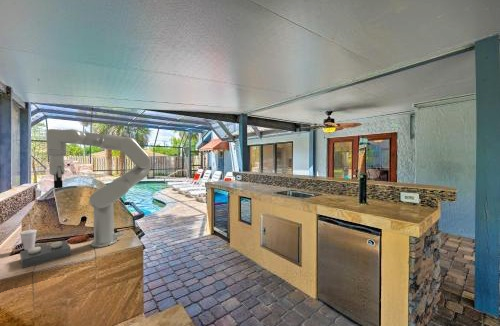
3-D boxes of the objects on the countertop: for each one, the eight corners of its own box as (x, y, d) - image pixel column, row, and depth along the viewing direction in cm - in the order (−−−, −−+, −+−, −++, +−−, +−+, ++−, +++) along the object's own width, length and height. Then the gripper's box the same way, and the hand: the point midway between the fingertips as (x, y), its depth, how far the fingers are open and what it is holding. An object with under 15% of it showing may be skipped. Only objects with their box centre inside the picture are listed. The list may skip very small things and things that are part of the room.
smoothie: (27, 252, 114) (25, 226, 113) (17, 251, 115) (16, 225, 114) (41, 247, 120) (39, 222, 119) (31, 246, 121) (30, 221, 120)
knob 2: (61, 249, 115) (61, 240, 115) (63, 252, 112) (62, 243, 112) (50, 252, 112) (49, 243, 112) (51, 255, 109) (51, 246, 109)
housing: (65, 247, 120) (65, 240, 119) (70, 254, 112) (70, 247, 111) (20, 259, 107) (20, 251, 106) (22, 268, 99) (22, 259, 99)
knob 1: (40, 254, 109) (40, 245, 109) (41, 257, 106) (41, 248, 106) (27, 258, 106) (27, 248, 106) (28, 261, 103) (28, 251, 103)
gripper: (45, 152, 117) (46, 187, 118) (49, 153, 107) (51, 190, 108) (63, 152, 123) (64, 185, 124) (69, 153, 113) (70, 188, 114)
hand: (58, 187), depth 116 cm, fingers closed
